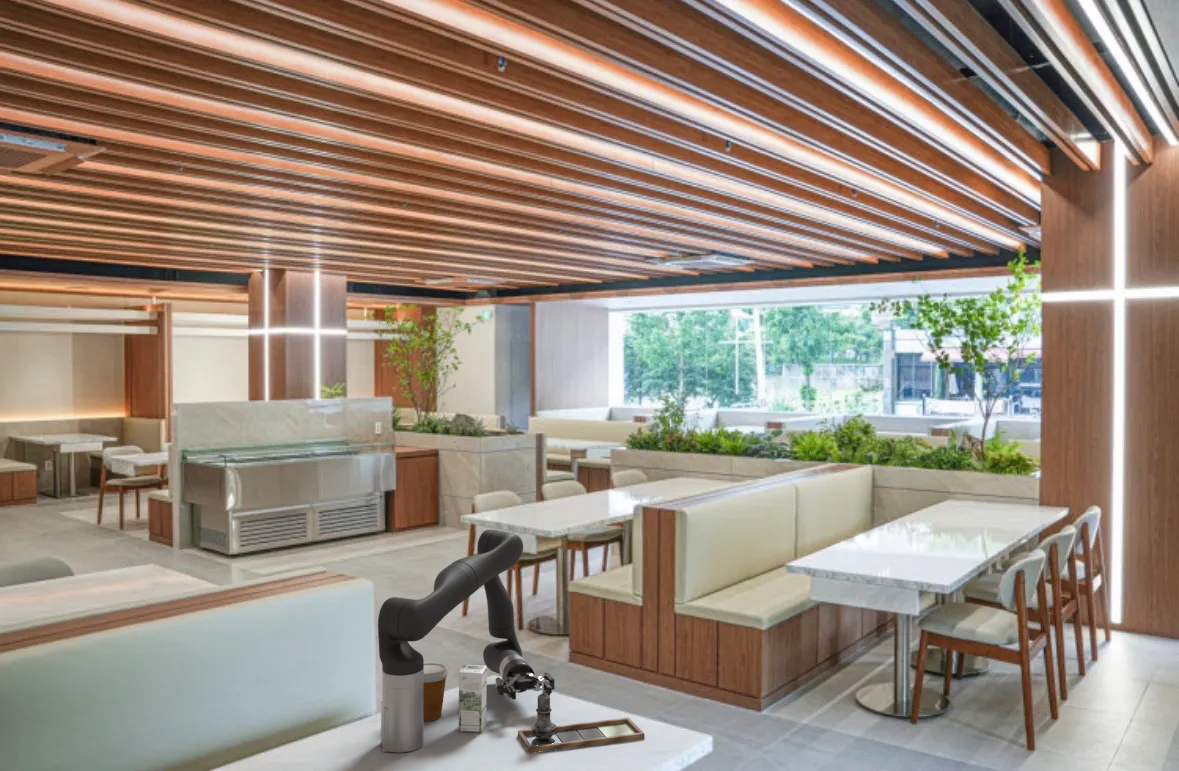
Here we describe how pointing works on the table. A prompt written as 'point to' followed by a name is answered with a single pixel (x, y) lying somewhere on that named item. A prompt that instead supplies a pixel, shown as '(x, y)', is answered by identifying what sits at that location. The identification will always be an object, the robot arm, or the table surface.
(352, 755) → the table surface
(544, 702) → the salt shaker
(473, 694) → the syrup box
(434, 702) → the disposable coffee cup
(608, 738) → the tray
